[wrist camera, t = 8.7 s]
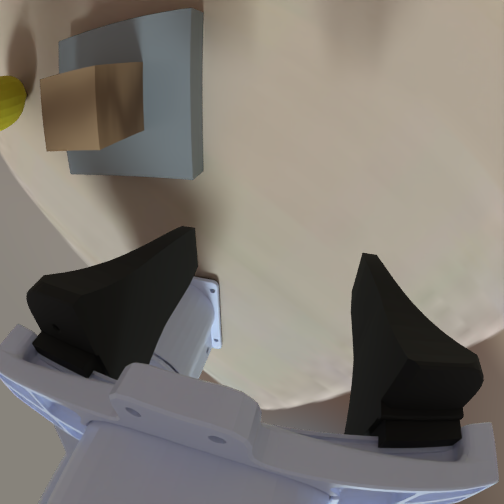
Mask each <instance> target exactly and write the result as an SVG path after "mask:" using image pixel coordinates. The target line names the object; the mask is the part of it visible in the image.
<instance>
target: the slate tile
mask: <svg viewBox="0 0 504 504" xmlns="http://www.w3.org/2000/svg"><path fill="white" fill-rule="evenodd" d="M202 45H203V12H201V11H198V10H196V9H193V8H186V9H179V10H173V11H167V12H161V13H156V14H151V15H146V16H141V17H137V18H133V19H128V20H125V21H121V22H117V23H113V24H110V25H106V26H103V27H99V28H96V29H93V30H90V31H87V32H84V33H81V34H78V35H75V36H73V37H70V38H67V39H64V40H62V41H59V74H61V73H65V72H69V71H73V70H77V69H81V68H85V67H90V66H95V65H104V64H115V63H129V62H143V111H144V131H142V132H139V133H137V134H134V135H132V136H130V137H128V138H125V139H123V140H121V141H118V142H116V143H114V144H112V145H110V146H108V147H105V148H103V149H101V150H72V151H67V156H68V162H69V168H70V173H71V174H85V175H119V176H141V177H159V178H174V179H188V180H193V179H195V178H196V177H197V176H198V175H199V174H200V173H202V172H203V134H202Z"/></svg>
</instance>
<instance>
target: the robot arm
mask: <svg viewBox="0 0 504 504" xmlns="http://www.w3.org/2000/svg"><path fill="white" fill-rule="evenodd" d="M197 267H198V261H197V249H196V237H195V228H192V227H185V226H182V227H179V228H177V229H175V230H173V231H171V232H169V233H167V234H165V235H163V236H161V237H159V238H157V239H155V240H153V241H152V242H150V243H148V244H146V245H144V246H142V247H140V248H138V249H136V250H134V251H132V252H129V253H127V254H125V255H123V256H120V257H118V258H115V259H113V260H110V261H107V262H104V263H101V264H98V265H94V266H91V267H88V268H84V269H80V270H75V271H70V272H65V273H58V274H50V275H44V276H43V277H42V278H41V279H40V280H39V281H38V282H37V283H36V284H35V285H34V286H33V287H32V288H31V289H30V290H29V291H28V292H27V303H28V306H29V308H30V310H31V313H32V314H33V316H34V318H35V320H36V322H37V324H38V325H39V327H40V329H41V333H40V334H39V335H38V336H37V335H36V334H35V333H34V332H33V331H32V330H30V329H28V328H26V327H24V326H22V325H20V324H17V325H16V326H15V328H14V329H13V330H12V331H11V332H10V333H9V334H8V336H7V337H6V338H5V339H4V340H3V342H2V343H1V344H0V379H1V380H2V381H3V382H4V383H5V385H6V386H7V387H8V388H9V389H10V390H11V392H12V393H13V394H14V395H15V396H16V397H18V398H19V399H20V400H22V401H23V402H24V403H26V404H27V405H28V406H30V407H31V408H32V409H34V410H35V411H37V412H38V413H39V414H41V415H42V416H43V417H45V418H46V419H48V420H49V421H51V422H52V423H53V424H54V426H55V429H56V431H57V433H58V436H59V438H60V440H61V442H62V444H63V446H64V449H65V451H66V453H65V455H64V457H63V459H62V460H61V462H60V464H59V466H58V467H57V469H56V471H55V473H54V474H53V476H52V478H51V480H50V482H49V484H48V485H47V487H46V489H45V491H44V493H43V495H42V496H41V498H40V500H39V502H38V504H451V503H456V502H460V501H462V500H464V499H466V498H468V497H470V496H473V495H475V494H477V493H479V492H481V491H483V490H485V489H486V488H488V487H490V486H492V485H494V484H496V483H497V482H498V481H499V476H498V465H497V456H496V449H495V441H494V434H493V428H492V423H491V422H486V423H476V424H468V425H465V426H463V427H461V426H460V420H461V419H462V418H463V415H464V414H463V407H464V406H465V405H466V404H467V403H468V402H469V401H470V399H471V398H472V397H473V396H474V395H475V394H476V393H477V391H478V390H479V389H480V387H481V386H482V383H483V381H484V380H483V373H482V369H481V365H480V362H479V358H478V356H477V355H476V354H475V353H473V352H471V351H470V350H468V349H467V348H465V347H464V346H462V345H460V344H459V343H457V342H456V341H455V340H453V339H452V338H451V337H449V336H448V335H446V334H445V333H444V332H443V331H441V330H440V329H439V328H438V327H437V326H436V325H434V324H433V323H432V322H431V321H430V320H429V319H428V318H427V317H426V316H425V315H424V314H423V313H422V312H421V311H420V310H419V309H418V308H417V307H416V306H415V305H414V304H413V303H412V302H411V300H410V299H409V298H408V297H407V296H406V294H405V293H404V292H403V291H402V289H401V288H400V287H399V286H398V284H397V283H396V282H395V280H394V279H393V277H392V276H391V275H390V273H389V272H388V270H387V269H386V268H385V266H384V265H383V263H382V262H381V260H380V259H379V258H378V256H377V255H374V254H367V253H362V257H361V261H360V264H359V268H358V272H357V275H356V279H355V282H354V286H353V289H352V300H351V319H352V335H353V353H354V364H353V376H352V386H351V395H350V403H349V410H348V416H347V422H346V428H345V433H344V434H335V433H325V432H317V431H309V430H302V429H295V428H288V427H282V426H277V425H271V424H266V423H263V422H261V414H262V412H261V410H260V407H259V405H258V403H257V402H256V401H255V400H254V399H252V398H251V397H249V396H248V395H247V394H245V393H244V392H242V391H239V390H236V389H233V388H230V387H228V386H224V385H220V384H216V383H212V382H208V381H204V380H200V379H199V377H200V374H201V372H202V370H203V367H204V365H205V363H206V360H207V358H208V355H209V353H210V351H211V348H216V349H220V348H221V347H222V336H221V320H220V302H219V285H218V283H217V282H216V281H214V280H210V279H205V278H199V277H194V274H195V272H196V269H197ZM212 289H214V290H212Z"/></svg>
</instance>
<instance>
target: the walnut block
mask: <svg viewBox="0 0 504 504" xmlns="http://www.w3.org/2000/svg"><path fill="white" fill-rule="evenodd" d="M40 89H41V104H42V116H43V126H44V134H45V142H46V149H47V151H72V150H101V149H103V148H105V147H108V146H110V145H112V144H114V143H116V142H118V141H121V140H123V139H125V138H128V137H130V136H132V135H134V134H137V133H139V132H142V131H144V111H143V62H129V63H115V64H104V65H95V66H90V67H85V68H81V69H77V70H73V71H69V72H65V73H61V74H57V75H54V76H50V77H47V78H43V79H40Z"/></svg>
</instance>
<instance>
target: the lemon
mask: <svg viewBox="0 0 504 504" xmlns="http://www.w3.org/2000/svg"><path fill="white" fill-rule="evenodd" d="M26 97H27V93H26V92H25V88H24V86H23V84H22V82H21V81H20V80H19V79H17V78H15V77H12V76H0V131H2V130H4V129H6V128H7V127H9V126H10V125H12V124H13V123H14V122H15V121H16V120H17V119H18V118H19V116H20V115H21V113H22V111H23V108H24V105H25V99H26Z"/></svg>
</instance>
